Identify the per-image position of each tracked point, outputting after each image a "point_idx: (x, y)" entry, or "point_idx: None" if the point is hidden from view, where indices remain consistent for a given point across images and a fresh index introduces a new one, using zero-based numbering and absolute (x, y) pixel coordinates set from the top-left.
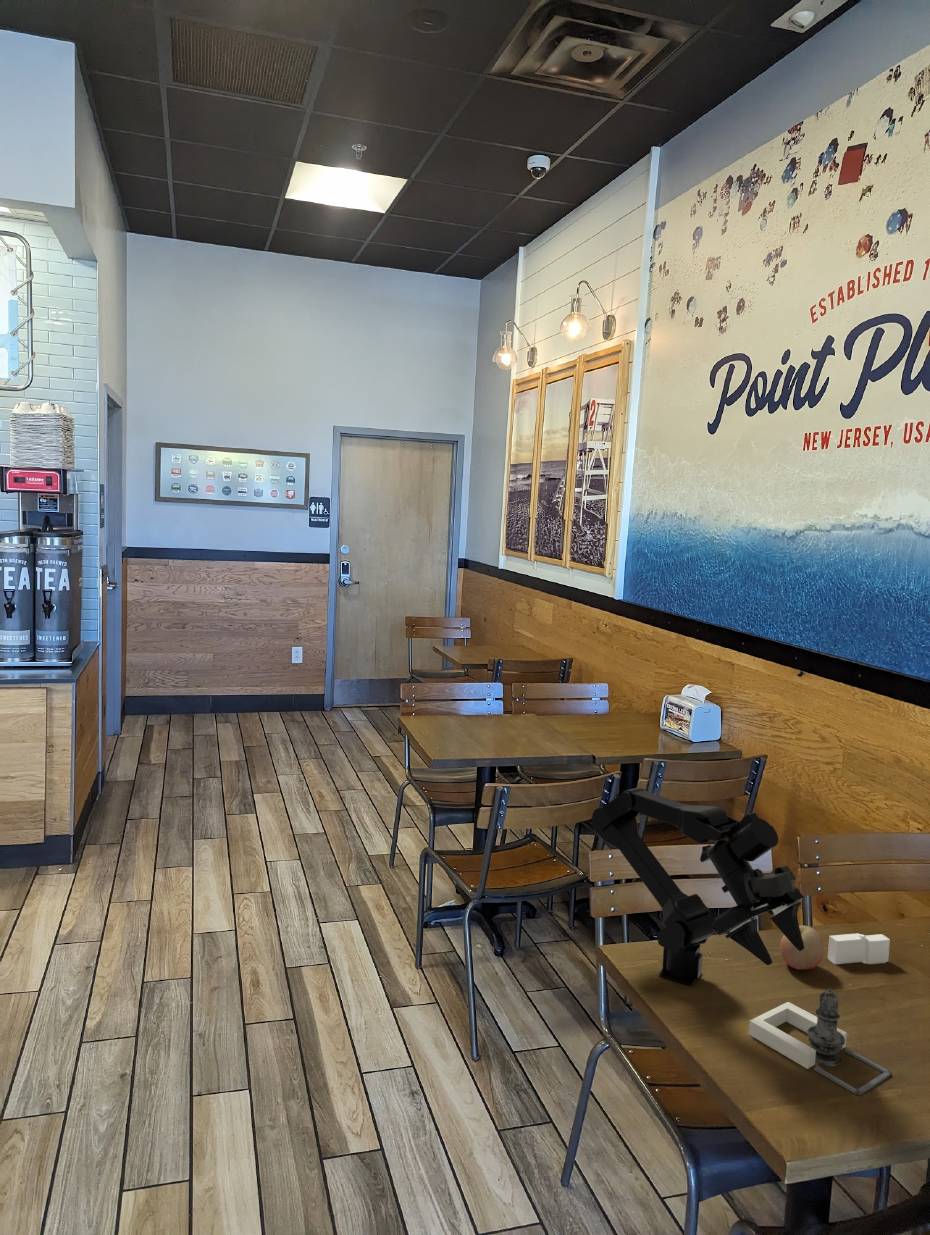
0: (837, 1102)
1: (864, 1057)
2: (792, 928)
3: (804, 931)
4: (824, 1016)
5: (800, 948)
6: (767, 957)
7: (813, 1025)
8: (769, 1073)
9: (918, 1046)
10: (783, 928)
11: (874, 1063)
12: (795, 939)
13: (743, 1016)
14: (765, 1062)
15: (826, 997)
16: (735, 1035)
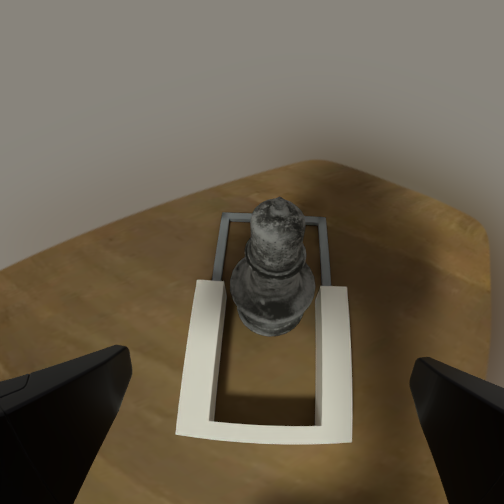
0: (367, 231)
1: (216, 253)
2: (58, 413)
3: None
4: (301, 247)
5: (127, 363)
6: (450, 366)
7: (217, 347)
8: (411, 331)
9: (108, 225)
10: (65, 481)
11: (220, 236)
12: (103, 391)
13: (282, 494)
14: (393, 357)
15: (300, 214)
16: (369, 453)
